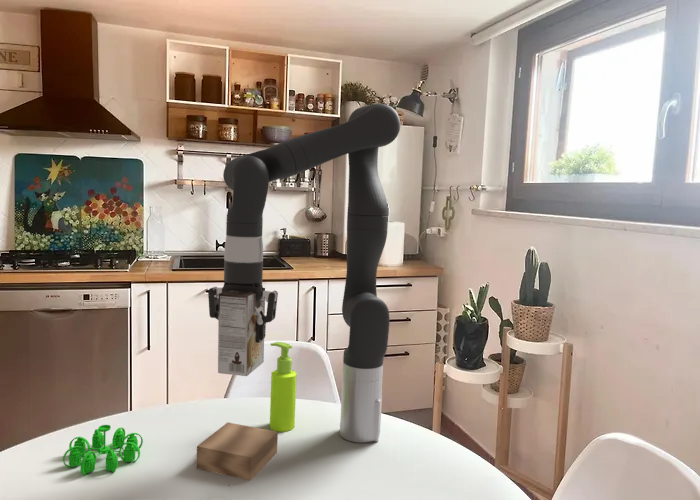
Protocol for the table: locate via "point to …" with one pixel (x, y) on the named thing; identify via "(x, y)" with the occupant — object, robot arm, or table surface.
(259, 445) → the walnut block
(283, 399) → the soap dispenser
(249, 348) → the coffee box
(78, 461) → the chandelier
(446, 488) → the table surface
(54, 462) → the table surface
